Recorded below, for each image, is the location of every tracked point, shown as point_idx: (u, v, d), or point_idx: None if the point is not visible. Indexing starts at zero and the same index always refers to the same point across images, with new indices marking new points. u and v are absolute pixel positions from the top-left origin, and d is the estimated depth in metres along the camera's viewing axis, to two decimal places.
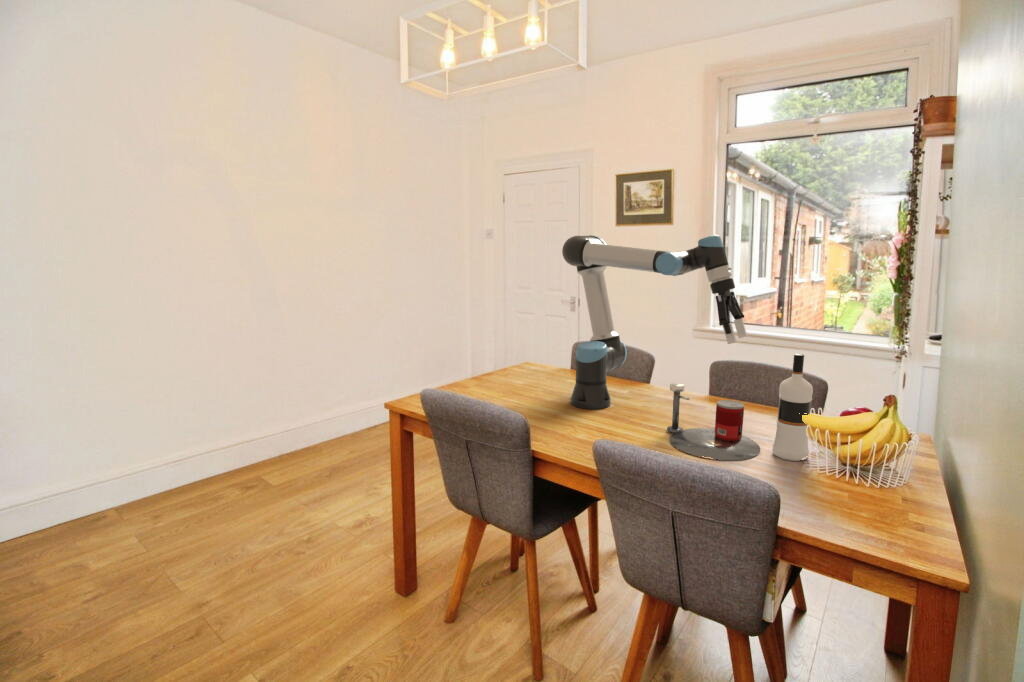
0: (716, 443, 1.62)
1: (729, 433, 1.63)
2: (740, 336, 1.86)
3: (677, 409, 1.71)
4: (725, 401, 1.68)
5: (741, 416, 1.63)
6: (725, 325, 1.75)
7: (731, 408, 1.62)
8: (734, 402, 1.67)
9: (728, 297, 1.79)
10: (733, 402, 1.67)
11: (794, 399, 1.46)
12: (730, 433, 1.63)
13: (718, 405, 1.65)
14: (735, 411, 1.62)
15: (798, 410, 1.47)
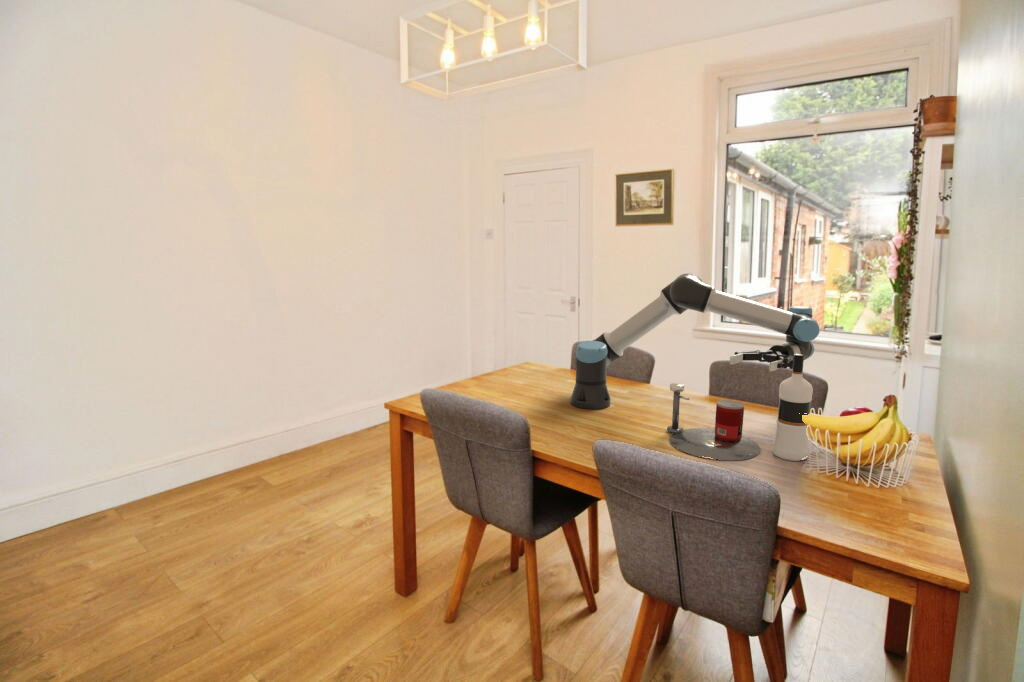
0: (716, 443, 1.62)
1: (729, 433, 1.63)
2: (732, 358, 1.75)
3: (677, 409, 1.71)
4: (725, 401, 1.68)
5: (741, 416, 1.63)
6: (785, 364, 1.67)
7: (731, 408, 1.62)
8: (734, 402, 1.67)
9: None
10: (733, 402, 1.67)
11: (794, 399, 1.46)
12: (730, 433, 1.63)
13: (718, 405, 1.65)
14: (735, 411, 1.62)
15: (798, 410, 1.47)
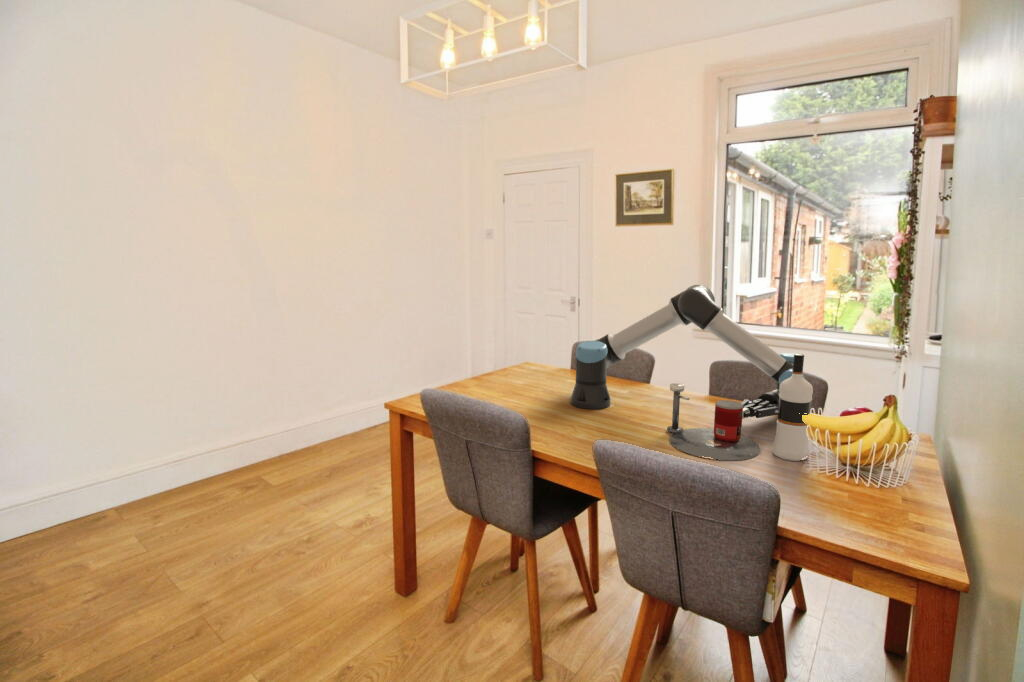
0: (716, 443, 1.62)
1: (727, 434, 1.63)
2: None
3: (677, 409, 1.71)
4: (724, 401, 1.68)
5: (740, 416, 1.63)
6: (751, 413, 1.71)
7: (729, 408, 1.62)
8: (733, 402, 1.67)
9: None
10: (732, 402, 1.67)
11: (794, 399, 1.46)
12: (729, 433, 1.63)
13: (717, 405, 1.65)
14: (734, 411, 1.62)
15: (798, 410, 1.47)
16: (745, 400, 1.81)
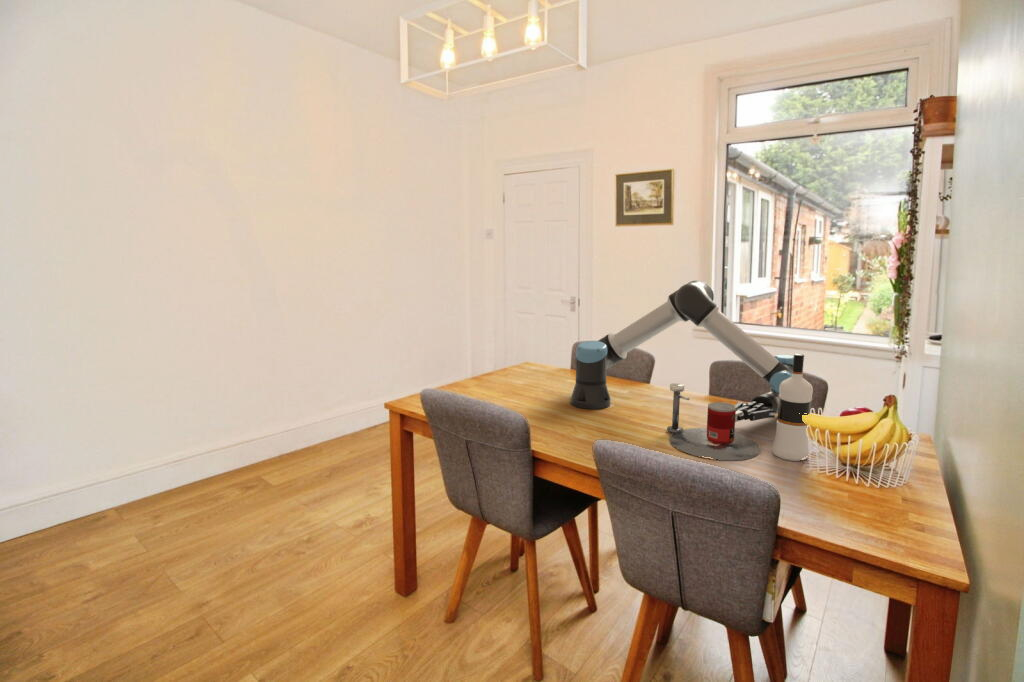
0: (716, 443, 1.62)
1: (720, 436, 1.61)
2: None
3: (677, 409, 1.71)
4: (717, 403, 1.65)
5: (733, 418, 1.60)
6: (745, 416, 1.68)
7: (722, 411, 1.59)
8: (726, 404, 1.64)
9: None
10: (725, 404, 1.64)
11: (794, 399, 1.46)
12: (722, 436, 1.61)
13: (709, 408, 1.62)
14: (726, 414, 1.59)
15: (798, 410, 1.47)
16: (739, 402, 1.78)
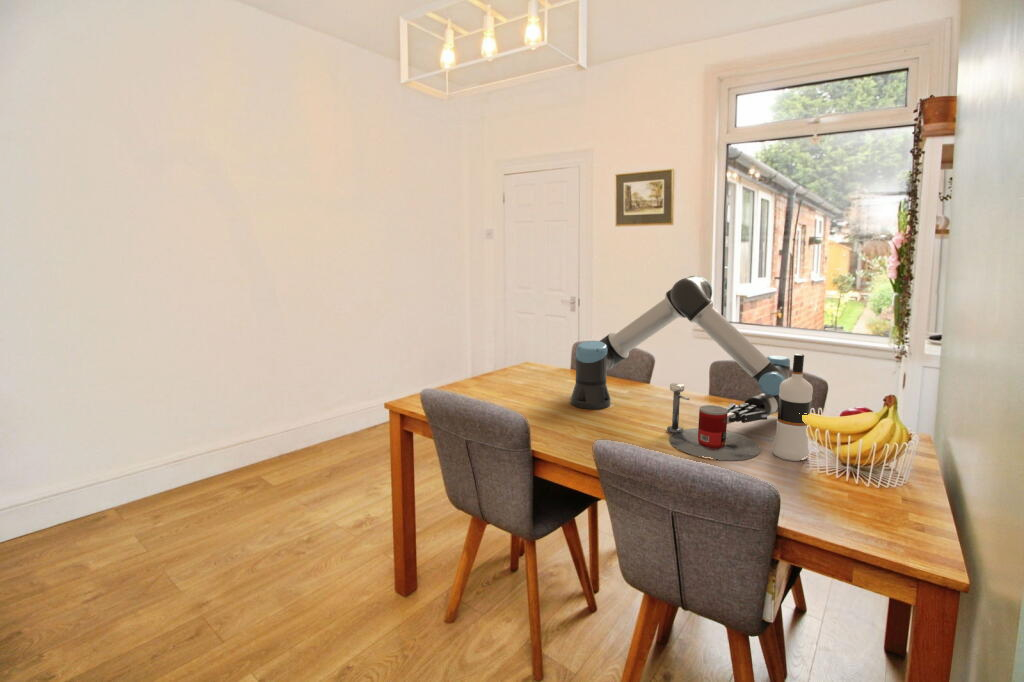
0: None
1: (712, 440, 1.58)
2: None
3: (677, 409, 1.71)
4: (708, 406, 1.63)
5: (725, 422, 1.58)
6: (737, 418, 1.66)
7: (714, 414, 1.57)
8: (718, 407, 1.62)
9: None
10: (717, 407, 1.62)
11: (794, 399, 1.46)
12: (713, 440, 1.58)
13: (701, 411, 1.60)
14: (718, 417, 1.57)
15: (798, 410, 1.47)
16: (731, 404, 1.76)
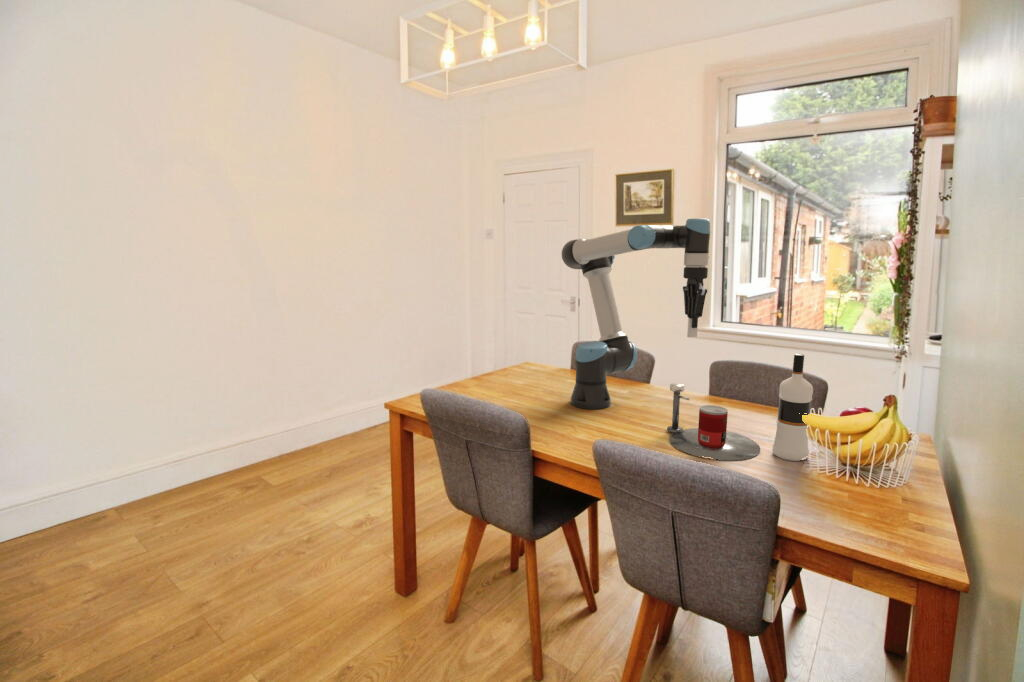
0: None
1: (712, 440, 1.58)
2: None
3: (677, 409, 1.71)
4: (708, 406, 1.63)
5: (725, 422, 1.58)
6: (695, 319, 1.76)
7: (714, 414, 1.57)
8: (718, 407, 1.62)
9: None
10: (717, 407, 1.62)
11: (794, 399, 1.46)
12: (713, 440, 1.58)
13: (701, 410, 1.60)
14: (718, 417, 1.57)
15: (798, 410, 1.47)
16: (684, 292, 1.81)
